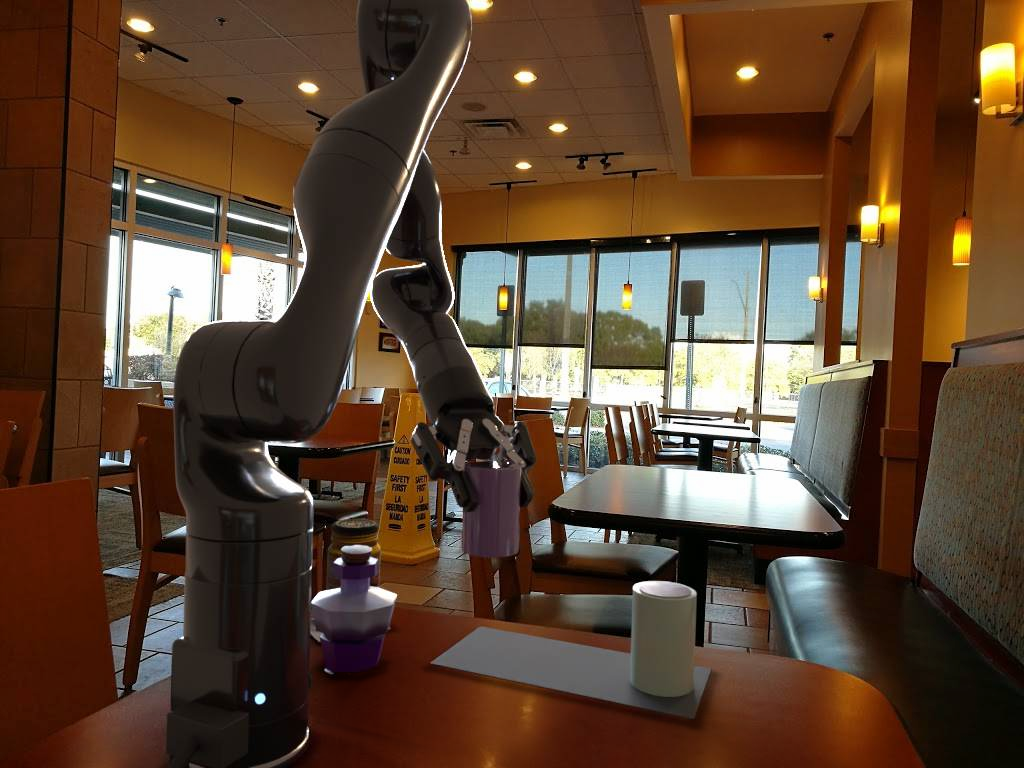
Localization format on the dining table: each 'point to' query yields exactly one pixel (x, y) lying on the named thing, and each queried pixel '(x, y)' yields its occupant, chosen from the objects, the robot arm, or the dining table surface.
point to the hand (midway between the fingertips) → (500, 504)
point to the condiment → (350, 535)
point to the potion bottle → (353, 613)
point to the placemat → (564, 669)
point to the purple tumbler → (493, 510)
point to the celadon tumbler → (663, 638)
